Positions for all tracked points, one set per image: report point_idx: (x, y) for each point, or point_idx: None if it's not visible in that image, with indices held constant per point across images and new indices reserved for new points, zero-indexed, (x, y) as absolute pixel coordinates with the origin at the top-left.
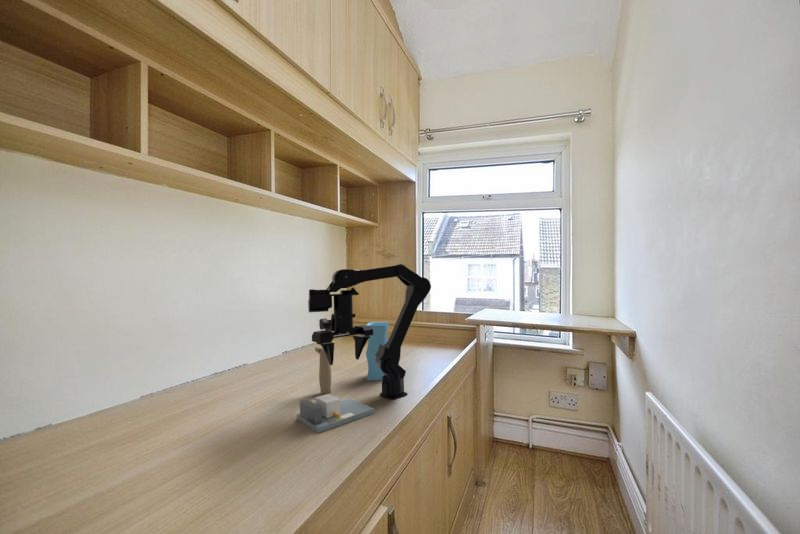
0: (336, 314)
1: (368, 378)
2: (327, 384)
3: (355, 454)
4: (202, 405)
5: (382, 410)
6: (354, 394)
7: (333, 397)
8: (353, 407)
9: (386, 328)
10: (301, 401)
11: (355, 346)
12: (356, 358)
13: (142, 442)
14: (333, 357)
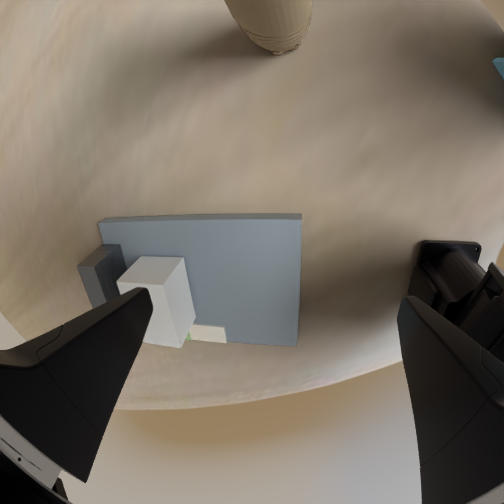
0: None
1: (500, 66)
2: (271, 48)
3: (174, 399)
4: (7, 10)
5: (326, 338)
6: (368, 151)
7: (166, 326)
8: (255, 302)
9: None
10: (80, 272)
11: (456, 375)
12: (402, 309)
13: None
14: (130, 368)
